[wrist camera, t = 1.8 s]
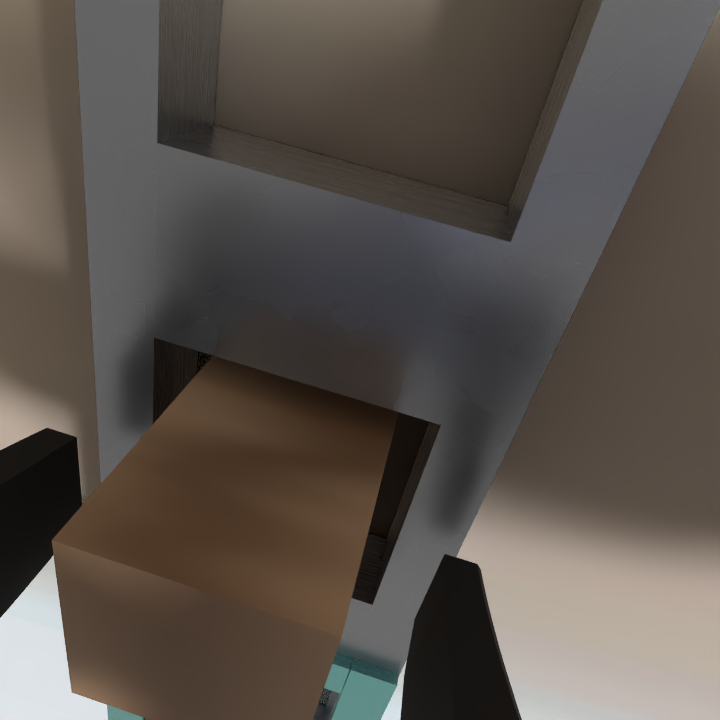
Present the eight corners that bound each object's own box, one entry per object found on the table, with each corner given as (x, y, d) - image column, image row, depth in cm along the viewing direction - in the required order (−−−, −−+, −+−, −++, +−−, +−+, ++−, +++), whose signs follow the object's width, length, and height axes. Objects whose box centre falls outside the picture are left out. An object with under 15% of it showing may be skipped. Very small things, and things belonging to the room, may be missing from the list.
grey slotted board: (903, -512, 6) (1127, -809, 4) (347, 747, 20) (331, 822, 19) (154, -651, 6) (-4, -972, 4) (144, 677, 21) (108, 742, 19)
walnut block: (405, 384, 12) (341, 637, 7) (366, 508, 14) (294, 770, 9) (232, 332, 12) (52, 540, 7) (219, 462, 15) (71, 692, 9)
